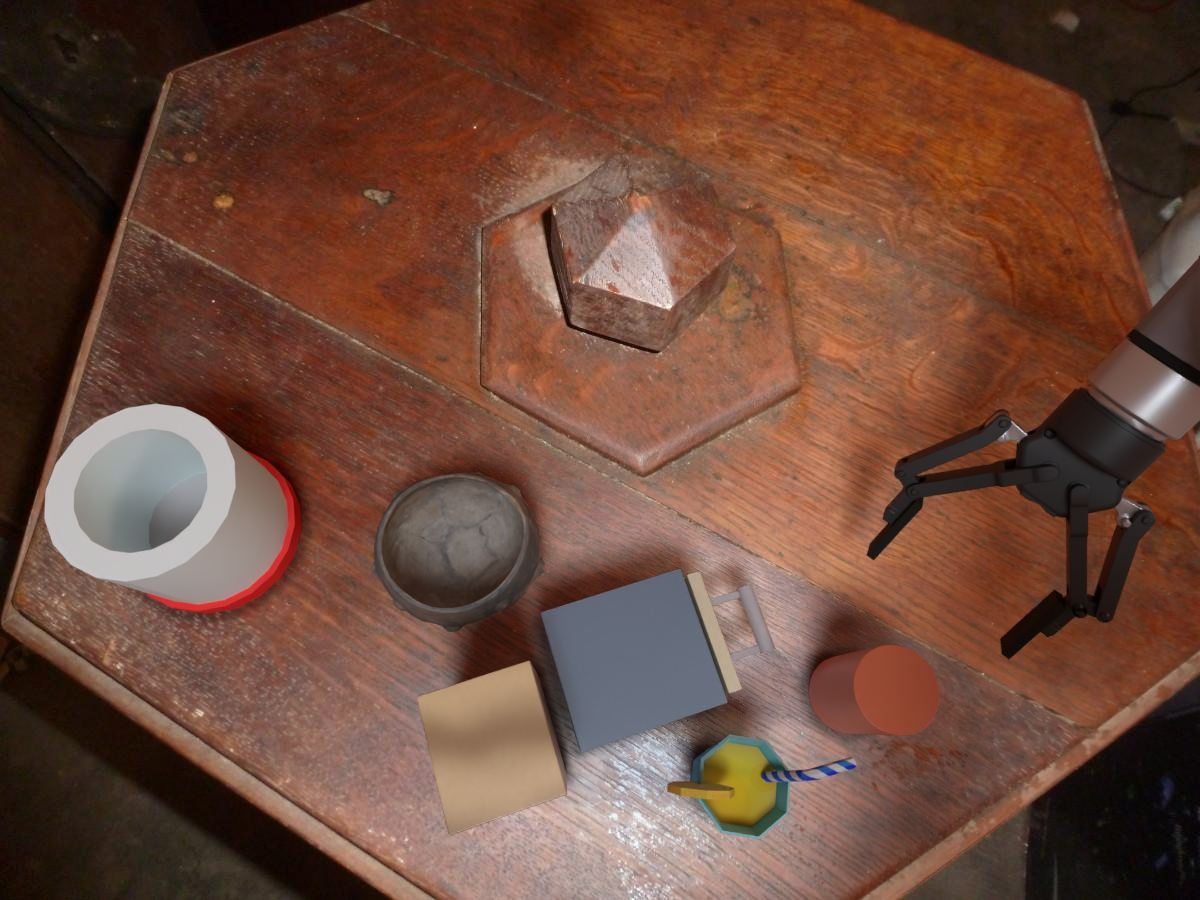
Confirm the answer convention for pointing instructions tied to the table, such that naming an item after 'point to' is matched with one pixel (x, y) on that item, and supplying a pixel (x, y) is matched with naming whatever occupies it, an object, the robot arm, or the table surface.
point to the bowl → (457, 549)
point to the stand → (492, 746)
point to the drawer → (714, 632)
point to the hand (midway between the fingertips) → (936, 599)
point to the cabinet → (632, 659)
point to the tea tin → (875, 692)
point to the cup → (747, 784)
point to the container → (172, 510)
